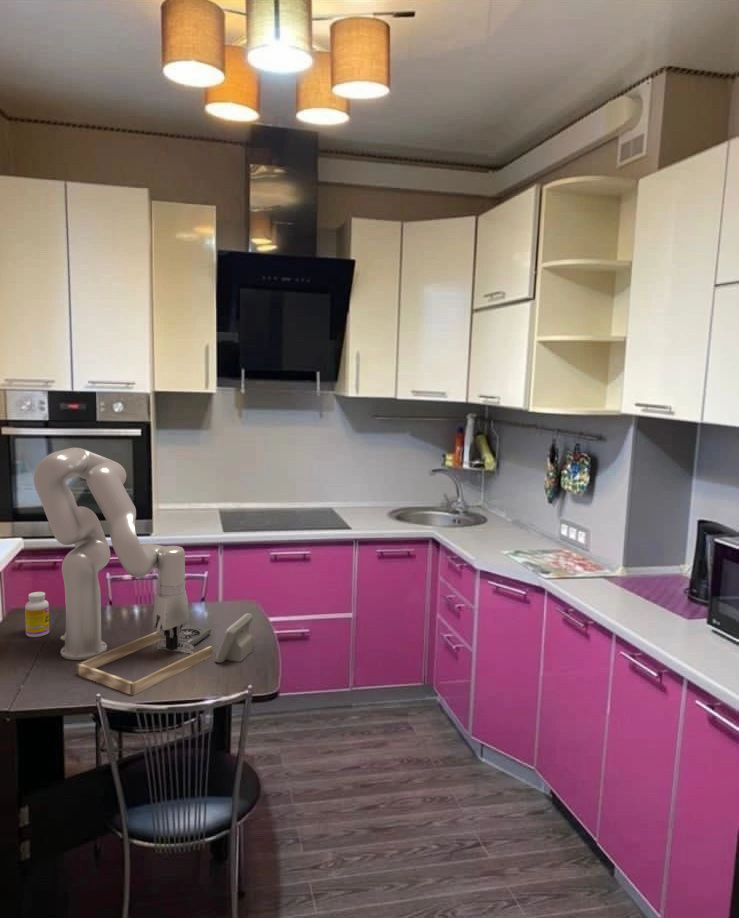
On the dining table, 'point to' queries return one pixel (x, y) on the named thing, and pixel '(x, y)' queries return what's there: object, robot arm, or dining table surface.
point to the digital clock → (236, 641)
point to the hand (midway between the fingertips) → (171, 648)
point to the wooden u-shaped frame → (132, 688)
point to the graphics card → (187, 638)
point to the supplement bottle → (37, 615)
